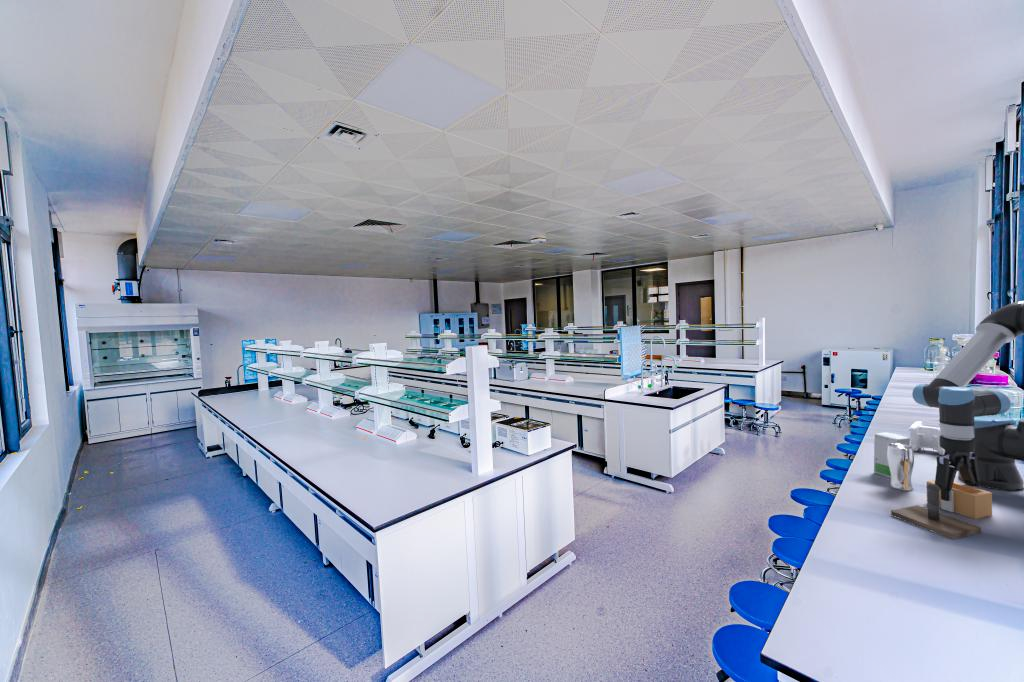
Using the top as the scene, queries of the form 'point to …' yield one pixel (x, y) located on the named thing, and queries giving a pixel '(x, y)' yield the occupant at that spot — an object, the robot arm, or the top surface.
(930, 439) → the cable organizer
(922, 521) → the keeper board
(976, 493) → the orange link
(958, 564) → the top surface
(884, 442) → the skincare box
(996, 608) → the top surface
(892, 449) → the beer glass
